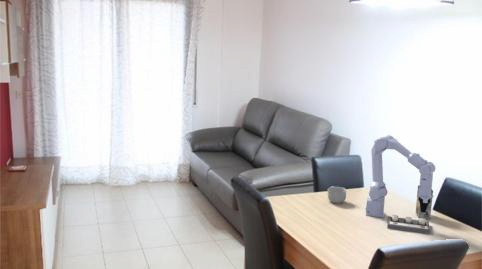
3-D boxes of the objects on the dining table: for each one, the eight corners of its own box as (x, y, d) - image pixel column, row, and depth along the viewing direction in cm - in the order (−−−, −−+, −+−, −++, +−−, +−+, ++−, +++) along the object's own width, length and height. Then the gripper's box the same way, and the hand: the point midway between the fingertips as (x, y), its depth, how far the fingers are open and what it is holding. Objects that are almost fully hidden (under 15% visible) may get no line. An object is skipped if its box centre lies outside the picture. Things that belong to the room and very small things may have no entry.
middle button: (405, 222, 222) (405, 218, 221) (405, 220, 225) (405, 216, 224) (411, 223, 221) (411, 219, 220) (411, 221, 224) (411, 217, 223)
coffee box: (415, 212, 242) (417, 184, 239) (427, 213, 241) (429, 185, 238) (418, 218, 233) (420, 190, 230) (430, 219, 232) (433, 190, 229)
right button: (418, 224, 220) (419, 220, 219) (418, 222, 222) (419, 217, 222) (425, 225, 219) (425, 220, 218) (424, 223, 222) (425, 218, 221)
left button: (391, 221, 224) (392, 216, 223) (391, 219, 227) (392, 214, 226) (398, 221, 223) (398, 217, 222) (398, 219, 226) (398, 215, 225)
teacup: (347, 205, 252) (348, 192, 251) (328, 205, 253) (329, 191, 251) (342, 197, 266) (342, 184, 265) (324, 197, 266) (325, 184, 265)
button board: (387, 228, 220) (387, 223, 219) (387, 219, 231) (388, 215, 231) (429, 234, 213) (430, 229, 213) (428, 225, 224) (428, 220, 224)
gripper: (435, 191, 209) (432, 218, 211) (433, 183, 222) (430, 208, 225) (419, 189, 211) (417, 216, 214) (418, 181, 225) (416, 206, 227)
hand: (423, 212), depth 219 cm, fingers closed
